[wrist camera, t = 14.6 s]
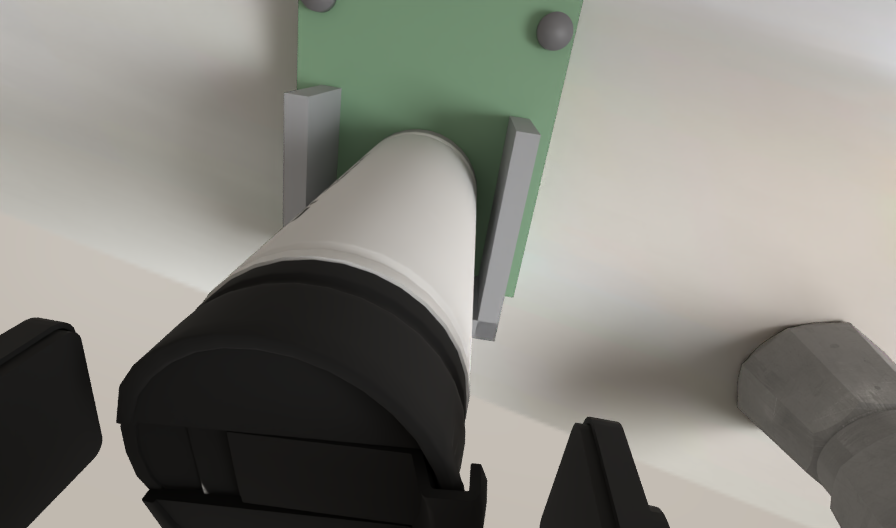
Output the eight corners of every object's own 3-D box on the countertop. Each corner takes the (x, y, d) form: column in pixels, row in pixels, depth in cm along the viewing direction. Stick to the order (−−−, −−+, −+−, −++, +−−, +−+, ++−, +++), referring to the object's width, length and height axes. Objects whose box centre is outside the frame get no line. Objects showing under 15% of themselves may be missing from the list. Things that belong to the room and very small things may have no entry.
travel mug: (480, 245, 27) (477, 660, 9) (363, 239, 27) (120, 627, 9) (487, 130, 24) (500, 372, 6) (358, 126, 25) (-1, 342, 6)
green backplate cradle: (317, -51, 24) (250, -92, 17) (576, -8, 24) (614, -32, 17) (307, 245, 30) (257, 302, 23) (510, 279, 30) (519, 345, 23)
